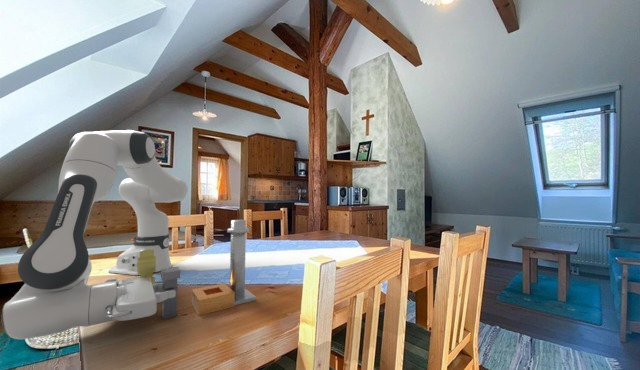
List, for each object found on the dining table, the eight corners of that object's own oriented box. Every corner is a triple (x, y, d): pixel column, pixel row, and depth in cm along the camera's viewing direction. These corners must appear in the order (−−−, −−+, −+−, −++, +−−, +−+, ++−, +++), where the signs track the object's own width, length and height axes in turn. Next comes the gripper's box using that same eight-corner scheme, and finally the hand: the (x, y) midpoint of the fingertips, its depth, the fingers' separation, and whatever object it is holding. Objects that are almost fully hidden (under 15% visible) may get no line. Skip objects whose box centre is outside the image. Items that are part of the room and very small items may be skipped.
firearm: (153, 291, 97) (154, 250, 100) (155, 301, 73) (156, 246, 76) (139, 294, 95) (140, 251, 98) (135, 305, 70) (137, 248, 73)
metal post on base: (198, 315, 70) (200, 224, 70) (191, 303, 77) (193, 221, 78) (256, 300, 79) (257, 221, 80) (245, 291, 87) (246, 218, 88)
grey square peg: (161, 320, 67) (162, 272, 67) (159, 314, 70) (160, 269, 70) (179, 316, 69) (180, 270, 70) (176, 310, 73) (177, 266, 73)
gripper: (105, 303, 54) (180, 289, 62) (109, 277, 70) (168, 268, 79) (104, 334, 54) (180, 316, 62) (108, 301, 70) (168, 289, 78)
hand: (173, 289), depth 70 cm, fingers open, 4 cm apart
